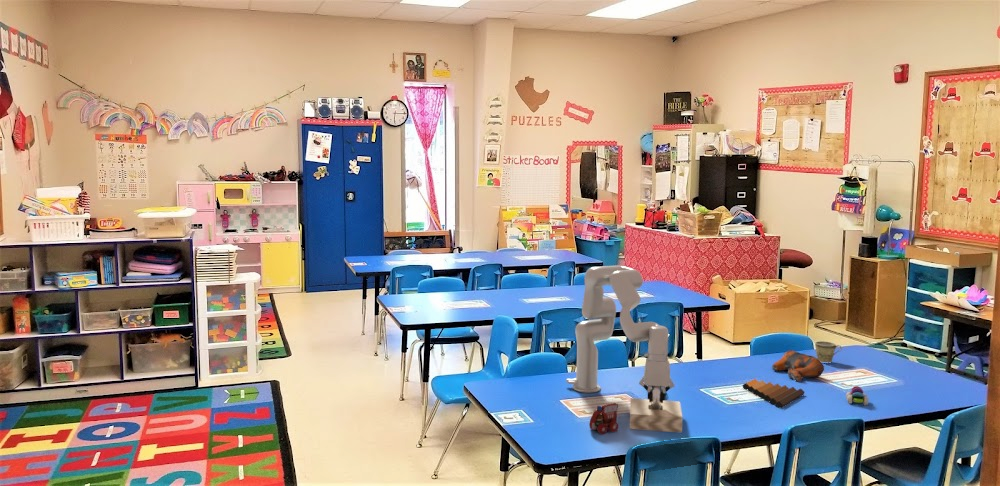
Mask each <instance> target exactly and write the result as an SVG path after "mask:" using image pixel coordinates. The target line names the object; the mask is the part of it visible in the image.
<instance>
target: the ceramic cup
mask: <svg viewBox="0 0 1000 486" xmlns="http://www.w3.org/2000/svg"><path fill="white" fill-rule="evenodd" d="M814 344H815V345H814V347H815V352H816V358H817V359H818V360H819V361H821V362H828V363H829V362H831V363H832V362H833V359H834V356H835V355H836V354H837V353H839V352H840V351H842V346H841V345H838V344H836V343H834V342H831V341H830V342H829V341H826V340H825V341H824V340H823V341H821V340H819V341H815V342H814ZM839 347H840V349H838V350H837V351H835V350H836V349H837V348H839Z"/></svg>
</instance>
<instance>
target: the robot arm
mask: <svg viewBox="0 0 1000 486" xmlns="http://www.w3.org/2000/svg"><path fill="white" fill-rule="evenodd" d="M643 280H644V279H643V276H642V274H641V273H640V272H639V270H638V269H635V268H631V267H629V266H625V265H624V266H623V265H604V266H592V267H590V268H588V269H587V270H586V272H585V274H584V293H583V297H582V300H583V302H582V304H581V305H582V307H581V315H582V316H583V318H584V319H587V320H584V321H580V322H578V323H577V324H576V326H575V331H574V332H575V338H576V340H575V341H576V373H575V375H576V376H575V377H574V378H566V383H567V384H569V385H572V389H573V390H574V391H576V392H578V393H579V392H580V393H584V394H585V393H586V394H587V393H596V392H600V391H601V386H600V385H599V384H598V368H599V367H598V366H599V350H598V348H597V346H596V344H595V342H599V341H606V340H608V339H609V340H610V338H611V337H612V336H613V332H614V326H615V320H616V315H617V307H616V306H617V305H616V302H615V300H614V299H613V298H612V297H609V296H604V293H605V290H604V287H603V286H605V287H606V286H611V288H612V290H613V292H614V294H615V296H616V298H617V299H618V302H619V303H620V305H621V309H620V312H619V323H620V326H621V329H622V330H623V333H624V334H625V336H626V337H627V339H628V340H629V341H631V342H633V343H639V342H646V341H648V347H647V349H648V350H647V352H646V353H644V355H643V357H644V358H646V360H645V364H644V370H643V377H641V379H640V381H639V382H638V384H639V385H640V386H641V387H643V389H644V390H645V391H647V392H646V393H647V399H649V402H651V386H662V392H661V403H663V400H664V401H666V400H665V399H666V394H665V393H668V391H669V390H670V389H672V388H674V387H675V383H674V381H672V378H671V367H670V361H669V360H668V349H669V348H668V346H669V330H668V328H667V327H666V326H664V325H660V324H659V323H657V322H654V321H645V322H644V321H643V322H634V320H633V318H632V315H631V311H633V310H634V309H635V308H636V307H637V306H639V305H640V303H641V299H642V298H641V297H640V295H639V292H638V291H637V289H640V288H641V287H642V286H643V282H644V281H643Z"/></svg>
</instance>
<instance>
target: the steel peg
mask: <svg viewBox="0 0 1000 486" xmlns="http://www.w3.org/2000/svg"><path fill="white" fill-rule="evenodd" d="M661 392H662V386H651V410H661Z"/></svg>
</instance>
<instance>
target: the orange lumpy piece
mask: <svg viewBox="0 0 1000 486" xmlns="http://www.w3.org/2000/svg"><path fill="white" fill-rule="evenodd" d="M771 368H772V369H771V370H773V371H774V370H776V372H778V370H779V371H785V370H786V371H787V370H788V371H787V375H788V377H789V379H792V378H793V379H792V380H793V381H794V380H796V381H795V382H797V381H799V382H802V380H803V378H816V377H818V378H819V377H820V376H821V375H822V374H823V372H824V371H825V366H824V364H823V363H821V362H820V361H819V360H818V359H817V357H816V356H813V355H810V354H809V355H808V354H805V353H800V352H797V351H795V350H788V351H786V352H785V353H784V354H783V355H782V357H781V358H780V359H779V360H777V361H776V362H774V363H772V366H771Z"/></svg>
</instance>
